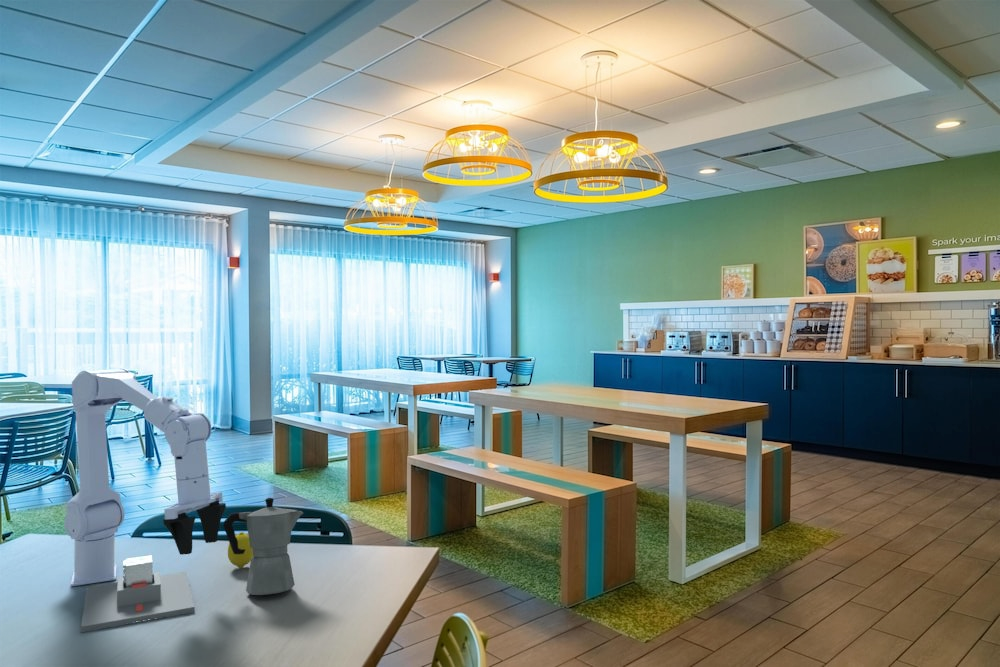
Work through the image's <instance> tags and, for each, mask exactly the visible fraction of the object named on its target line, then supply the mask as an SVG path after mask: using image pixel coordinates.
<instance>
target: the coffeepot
mask: <svg viewBox="0 0 1000 667" xmlns="http://www.w3.org/2000/svg"><path fill="white" fill-rule="evenodd" d="M264 500H265V505H266V507H263V508H260V509H258V510H255V511H246V512H245V511H244V512H237V511H236V512H232V513H230V514H229V515H228V516H227V517H226V519H225V520H224V522H222V523H223V524H222V525H223V529H224V531H225V534H226V536H227V540H228V542H229V543H230V545H231V548H232V551H233V553H234V554H244V552H245V549H239V548H238V540H237V538H236V536H235V535H236V533H235V532H236V531H235V528H234V526H233V524H234V523H237V522H238V523H246V528H247V534H248V535H249V541H250V547H251V548H252V549H253V558H252V559H251V561H250V562H249V568H248V575H247V576H248V577H247V583H246V588H245V591H246V593H247V594H249V595H251V596H252V595H253V596H263V595H265V596H266V595H272V594H273V595H274V594H279V593H283V592H286V591H289V590H292V588H293V587H294V586H295V585H296V584H295V579H294V574H293V569H292V564H291V563H292V562H291V558H290V555H289V553H288V545H289V544H290V543H291V538H292V537H291V536H292V532H293V529H294V527H295V526H296V523H297V522H298V520H299V519H300V517H301V516H302V515H304V512H303V511H302V510H299V509H291V508H281V507H276V506H274V498H273V497H267V498H265V499H264Z"/></svg>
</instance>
